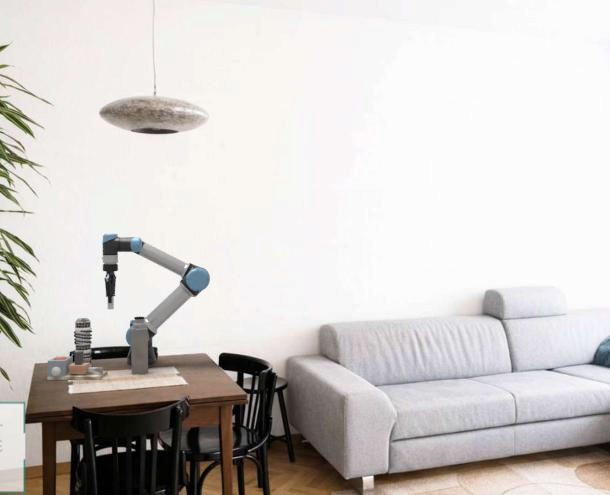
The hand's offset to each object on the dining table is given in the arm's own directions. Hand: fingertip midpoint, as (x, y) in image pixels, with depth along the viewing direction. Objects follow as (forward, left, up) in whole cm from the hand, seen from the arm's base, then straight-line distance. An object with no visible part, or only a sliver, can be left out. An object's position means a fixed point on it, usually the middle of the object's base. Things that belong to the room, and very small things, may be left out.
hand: (110, 309), depth 336 cm
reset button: (+18, +22, -24) cm, 37 cm away
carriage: (+9, +22, -28) cm, 37 cm away
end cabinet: (+18, +22, -30) cm, 42 cm away
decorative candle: (+16, -5, -31) cm, 35 cm away
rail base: (+10, +22, -30) cm, 39 cm away
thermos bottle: (-18, +13, -31) cm, 38 cm away
